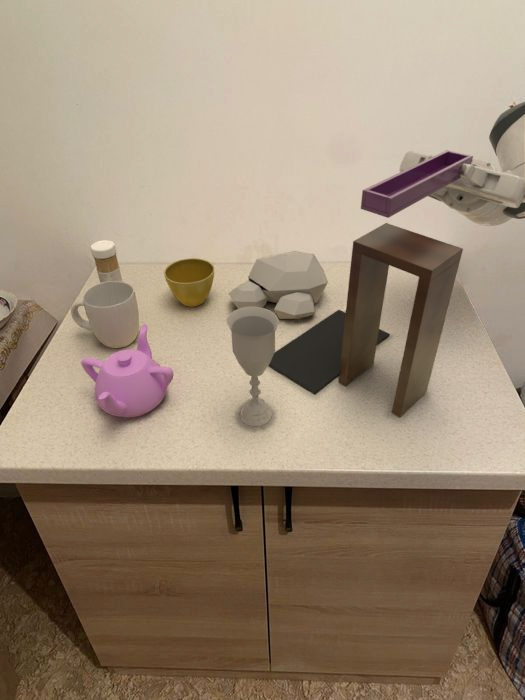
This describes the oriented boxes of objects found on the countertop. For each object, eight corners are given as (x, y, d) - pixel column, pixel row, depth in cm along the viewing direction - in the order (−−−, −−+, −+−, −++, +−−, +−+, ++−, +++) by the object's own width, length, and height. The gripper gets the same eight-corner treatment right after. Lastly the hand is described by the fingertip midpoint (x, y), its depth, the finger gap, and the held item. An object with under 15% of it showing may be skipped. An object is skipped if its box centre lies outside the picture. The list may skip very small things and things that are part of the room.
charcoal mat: (338, 311, 101) (338, 309, 101) (389, 335, 95) (389, 333, 94) (262, 362, 89) (262, 360, 89) (314, 394, 83) (314, 392, 82)
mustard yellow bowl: (162, 311, 102) (157, 281, 98) (176, 286, 110) (172, 256, 106) (210, 315, 101) (207, 284, 97) (221, 289, 109) (218, 259, 104)
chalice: (224, 414, 79) (215, 321, 68) (253, 392, 83) (250, 300, 72) (258, 438, 75) (255, 343, 64) (287, 413, 79) (289, 320, 68)
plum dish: (443, 166, 80) (446, 149, 78) (469, 173, 77) (473, 156, 75) (360, 209, 67) (362, 190, 66) (388, 218, 65) (391, 198, 63)
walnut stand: (366, 360, 89) (386, 222, 73) (426, 392, 83) (463, 248, 66) (338, 382, 85) (353, 241, 69) (400, 418, 78) (432, 270, 62)
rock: (326, 327, 97) (329, 284, 91) (224, 321, 99) (220, 279, 93) (327, 279, 111) (330, 239, 105) (238, 275, 113) (235, 235, 107)
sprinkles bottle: (121, 294, 108) (108, 237, 99) (131, 303, 105) (118, 245, 96) (101, 302, 105) (86, 244, 97) (111, 311, 103) (96, 252, 94)
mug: (149, 326, 98) (141, 282, 92) (133, 354, 91) (123, 309, 85) (88, 321, 100) (76, 277, 94) (68, 349, 93) (53, 303, 87)
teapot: (153, 362, 90) (146, 322, 84) (184, 410, 80) (177, 368, 75) (87, 386, 85) (74, 344, 80) (111, 439, 76) (98, 397, 70)
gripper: (524, 223, 81) (504, 203, 70) (413, 191, 93) (380, 170, 82) (543, 184, 79) (525, 158, 69) (427, 156, 91) (396, 130, 80)
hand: (445, 164), depth 75 cm, fingers closed on plum dish, 4 cm apart
